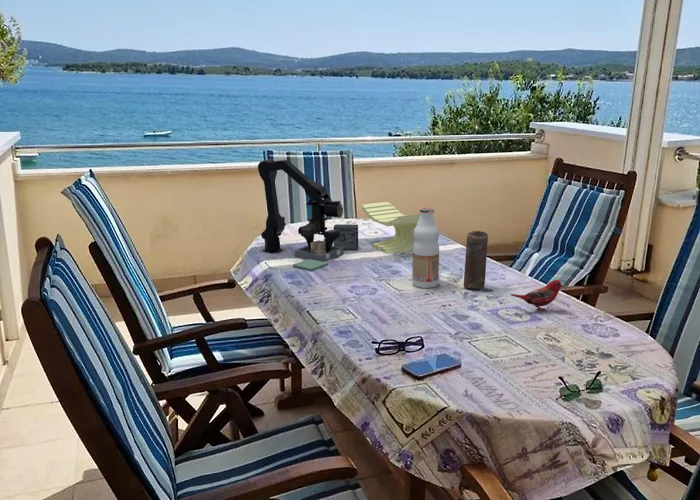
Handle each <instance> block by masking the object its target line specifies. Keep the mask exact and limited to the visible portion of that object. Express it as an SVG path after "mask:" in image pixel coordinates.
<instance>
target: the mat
mask: <svg viewBox="0 0 700 500" xmlns="http://www.w3.org/2000/svg"><path fill="white" fill-rule="evenodd" d="M327 266H329V263H328V262H327V261H324V262H322V261H317V260H312V259H303V260H302V261H299V262H296V263H293V264H292V267H293V268H296V269H301V270H304V271H309V272H314V271H317V270H318V269H322V268H325V267H327Z"/></svg>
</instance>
